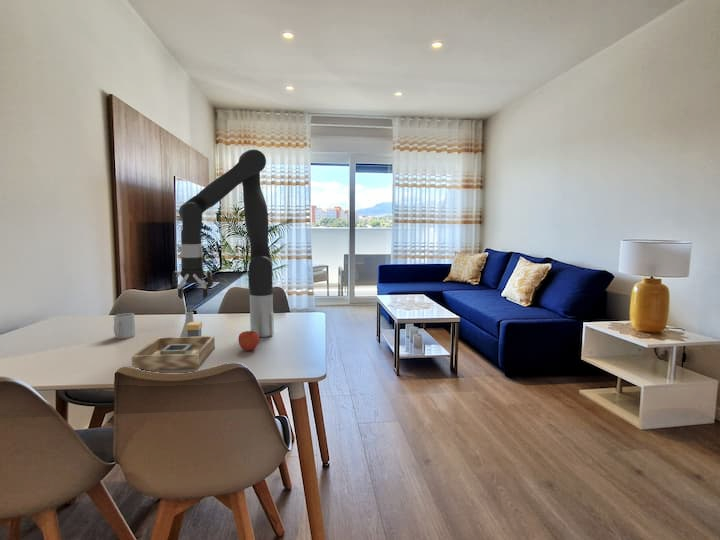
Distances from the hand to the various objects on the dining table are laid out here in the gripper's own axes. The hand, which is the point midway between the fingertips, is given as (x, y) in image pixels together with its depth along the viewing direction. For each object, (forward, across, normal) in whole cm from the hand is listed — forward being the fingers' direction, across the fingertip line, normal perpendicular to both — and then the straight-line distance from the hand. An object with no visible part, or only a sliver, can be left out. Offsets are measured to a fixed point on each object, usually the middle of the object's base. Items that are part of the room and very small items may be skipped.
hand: (193, 298), depth 157 cm
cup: (+18, +31, -11) cm, 37 cm away
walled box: (+18, +1, +18) cm, 25 cm away
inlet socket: (+18, +1, +18) cm, 25 cm away
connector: (+18, 0, 0) cm, 18 cm away
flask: (+18, +5, -11) cm, 22 cm away
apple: (+18, -22, +10) cm, 30 cm away
